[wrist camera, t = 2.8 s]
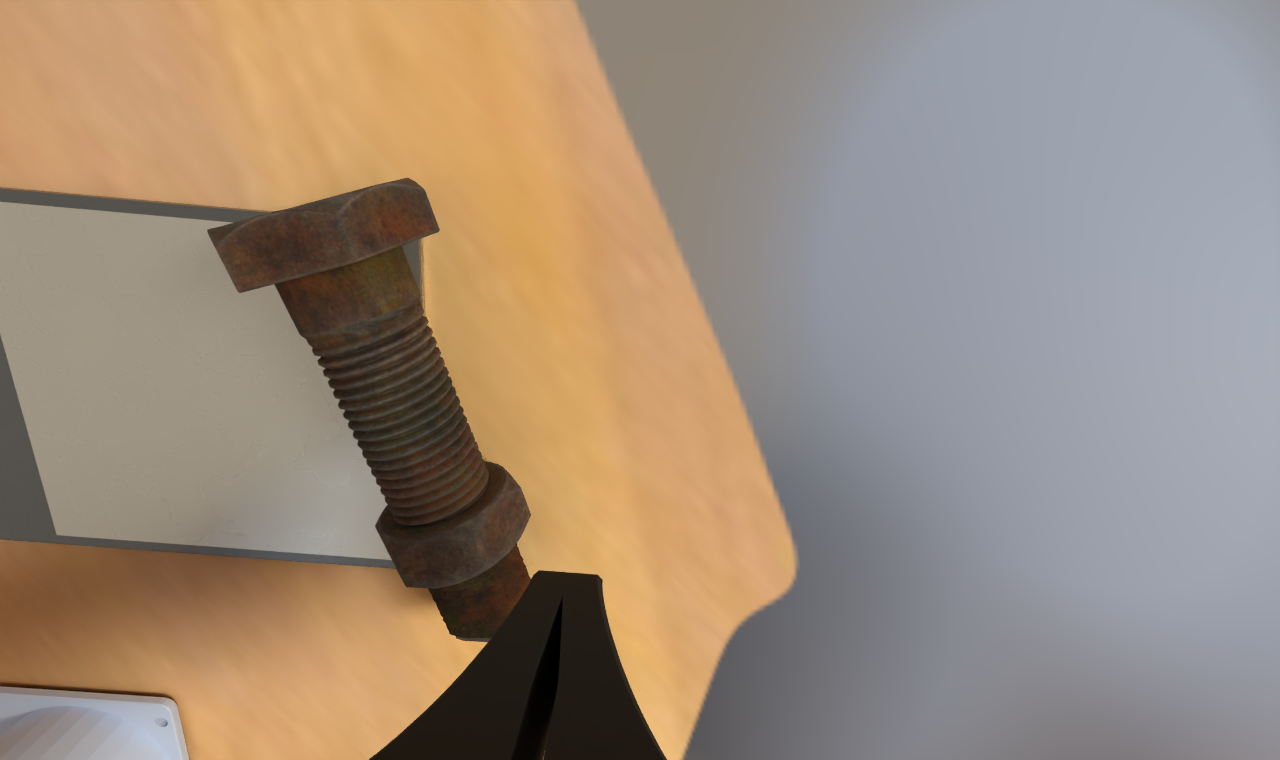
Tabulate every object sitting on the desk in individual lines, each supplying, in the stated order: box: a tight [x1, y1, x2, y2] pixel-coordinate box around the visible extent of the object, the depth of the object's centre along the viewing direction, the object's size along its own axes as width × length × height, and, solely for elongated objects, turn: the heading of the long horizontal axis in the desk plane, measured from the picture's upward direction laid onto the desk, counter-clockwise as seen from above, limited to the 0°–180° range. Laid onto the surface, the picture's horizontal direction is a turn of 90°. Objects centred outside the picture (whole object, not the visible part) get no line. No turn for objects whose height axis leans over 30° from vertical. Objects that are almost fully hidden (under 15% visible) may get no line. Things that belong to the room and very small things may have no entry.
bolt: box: [207, 178, 531, 642], centre depth 19 cm, size 6×5×15 cm
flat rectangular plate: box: [0, 187, 425, 569], centre depth 21 cm, size 13×28×1 cm, turn 85°
